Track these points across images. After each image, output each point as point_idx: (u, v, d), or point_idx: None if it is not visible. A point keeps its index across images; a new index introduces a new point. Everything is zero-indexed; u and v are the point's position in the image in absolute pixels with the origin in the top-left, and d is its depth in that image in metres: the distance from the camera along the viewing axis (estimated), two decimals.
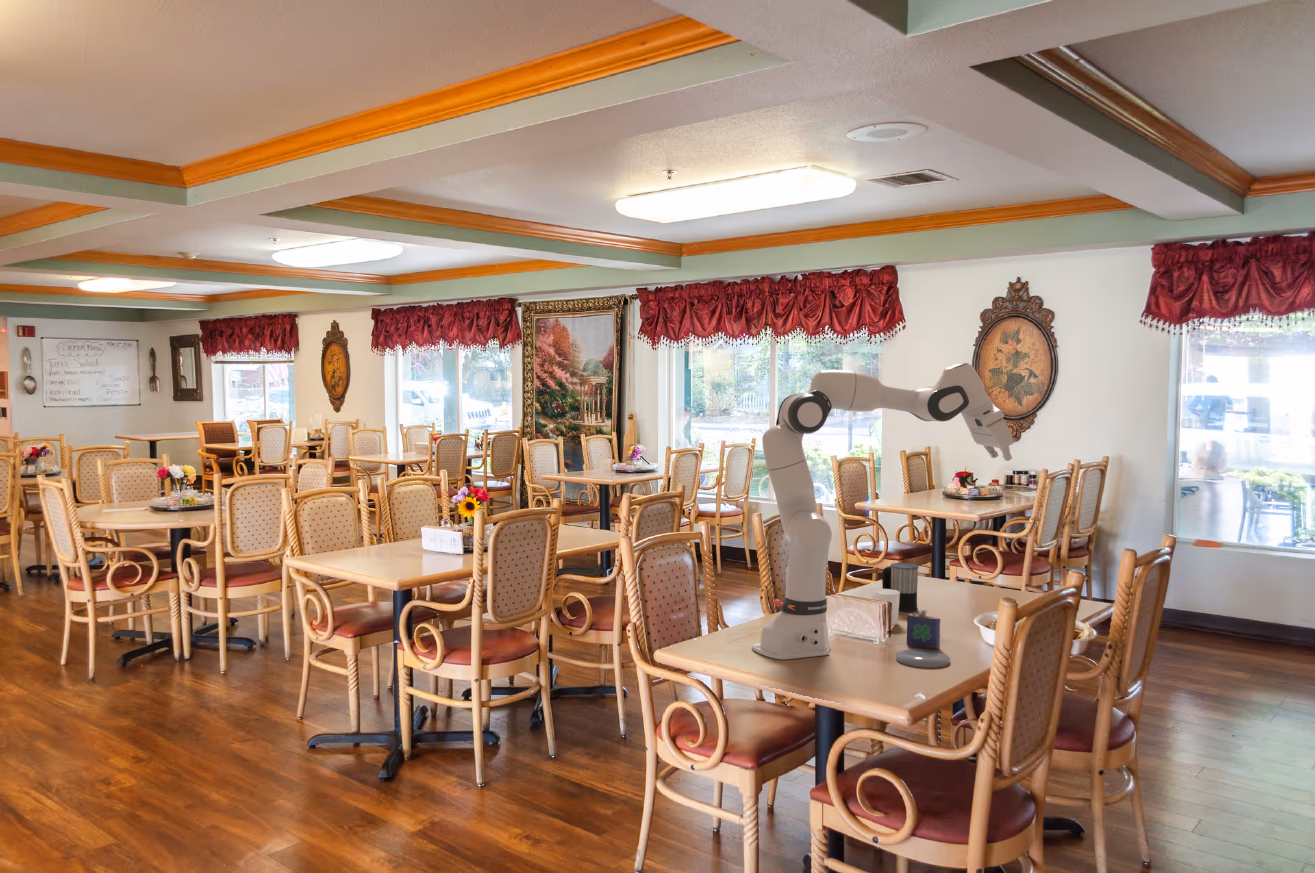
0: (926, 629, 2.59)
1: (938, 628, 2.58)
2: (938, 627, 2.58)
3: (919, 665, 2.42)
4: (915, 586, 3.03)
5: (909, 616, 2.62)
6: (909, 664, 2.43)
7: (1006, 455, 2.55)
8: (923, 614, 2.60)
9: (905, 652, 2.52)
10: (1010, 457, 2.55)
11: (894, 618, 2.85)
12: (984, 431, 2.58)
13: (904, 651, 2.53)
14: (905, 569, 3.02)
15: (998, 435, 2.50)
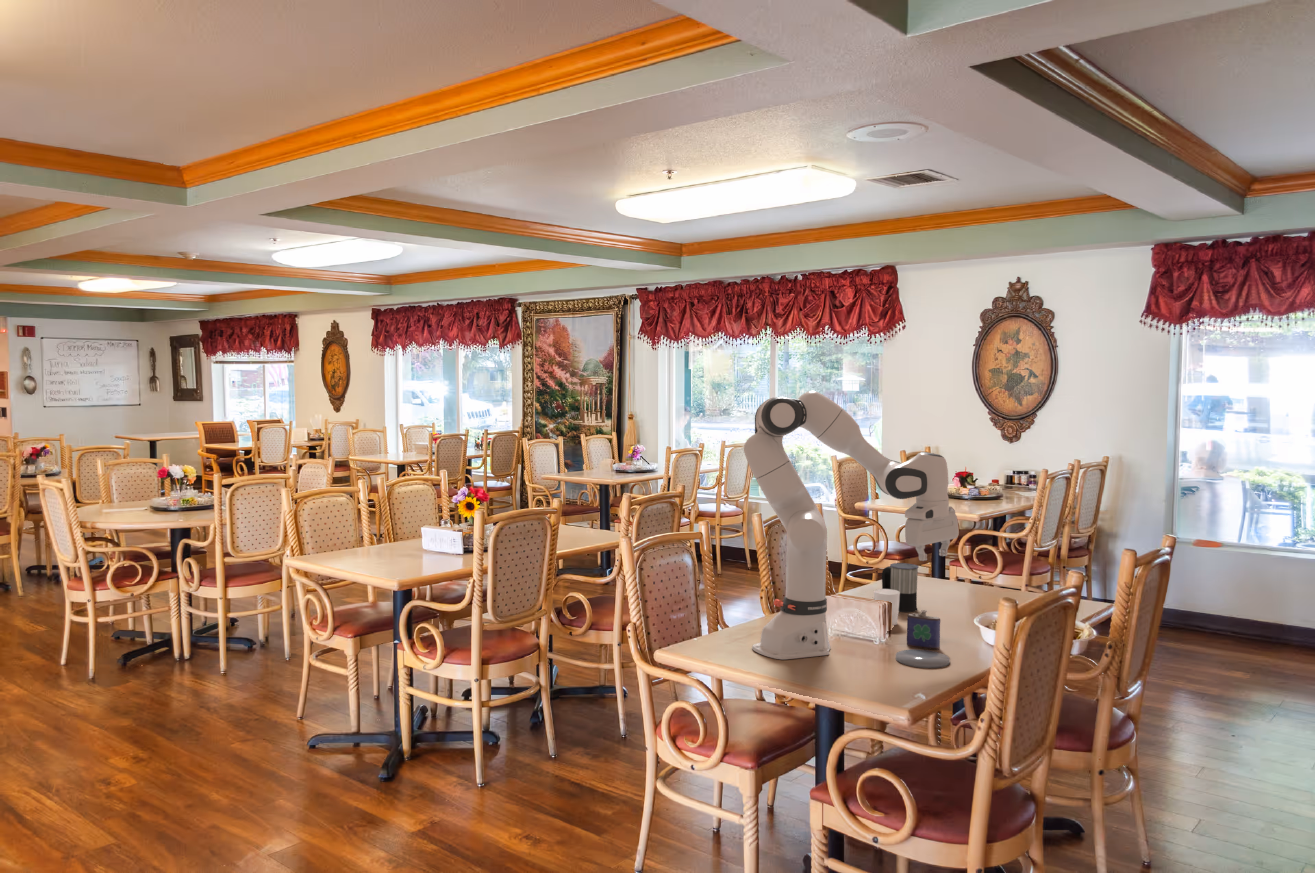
0: (926, 629, 2.59)
1: (938, 628, 2.58)
2: (938, 627, 2.58)
3: (919, 665, 2.42)
4: (915, 586, 3.03)
5: (909, 616, 2.62)
6: (909, 664, 2.43)
7: (920, 554, 2.57)
8: (923, 614, 2.60)
9: (905, 652, 2.52)
10: (922, 558, 2.57)
11: (894, 618, 2.85)
12: None
13: (904, 651, 2.53)
14: (905, 569, 3.02)
15: (907, 531, 2.55)
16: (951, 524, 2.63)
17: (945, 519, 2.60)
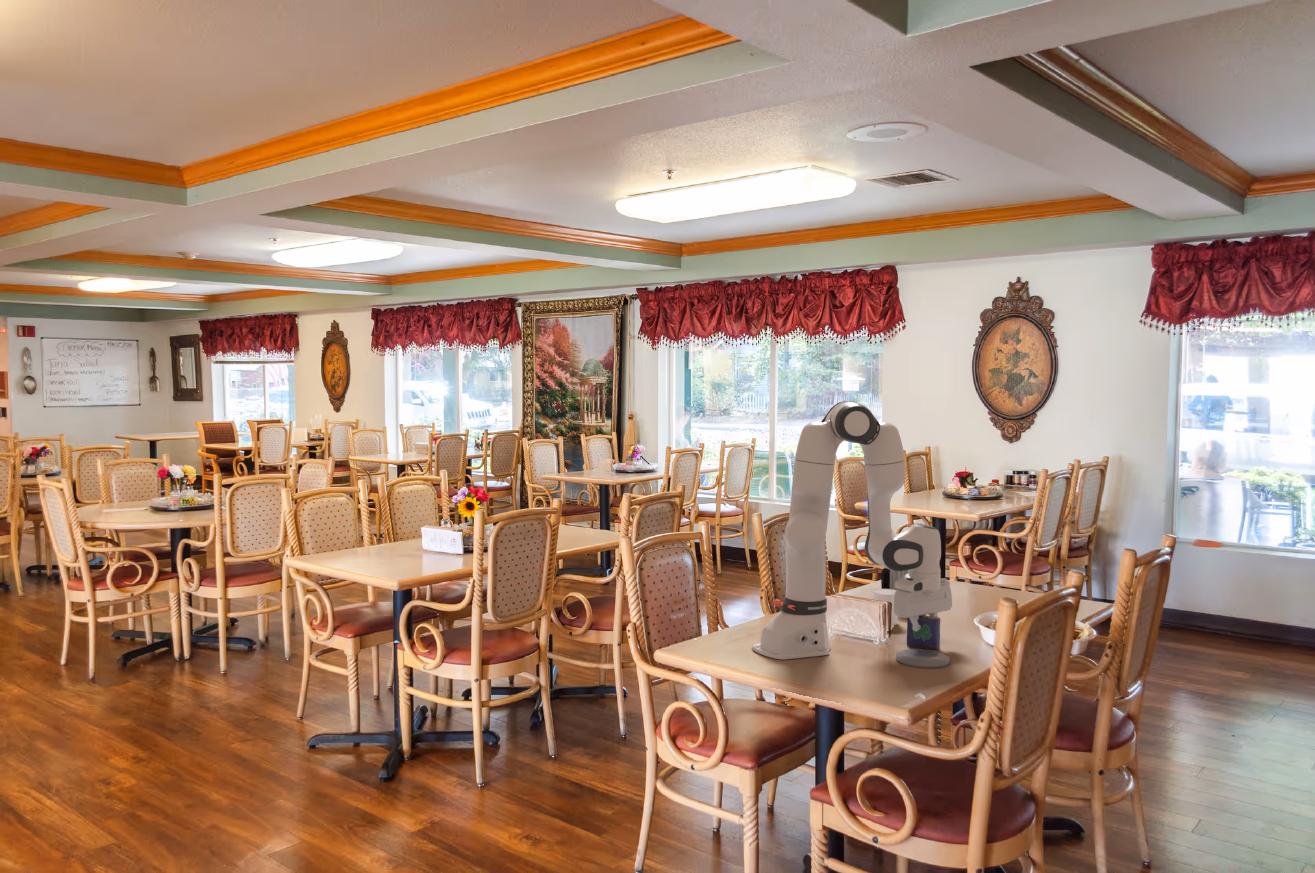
0: (926, 629, 2.59)
1: (938, 628, 2.58)
2: (938, 627, 2.58)
3: (919, 665, 2.42)
4: None
5: None
6: (909, 664, 2.43)
7: (913, 625, 2.59)
8: None
9: (905, 652, 2.52)
10: (916, 629, 2.58)
11: (894, 618, 2.85)
12: None
13: (904, 651, 2.53)
14: None
15: (895, 601, 2.56)
16: (944, 596, 2.62)
17: (937, 591, 2.60)
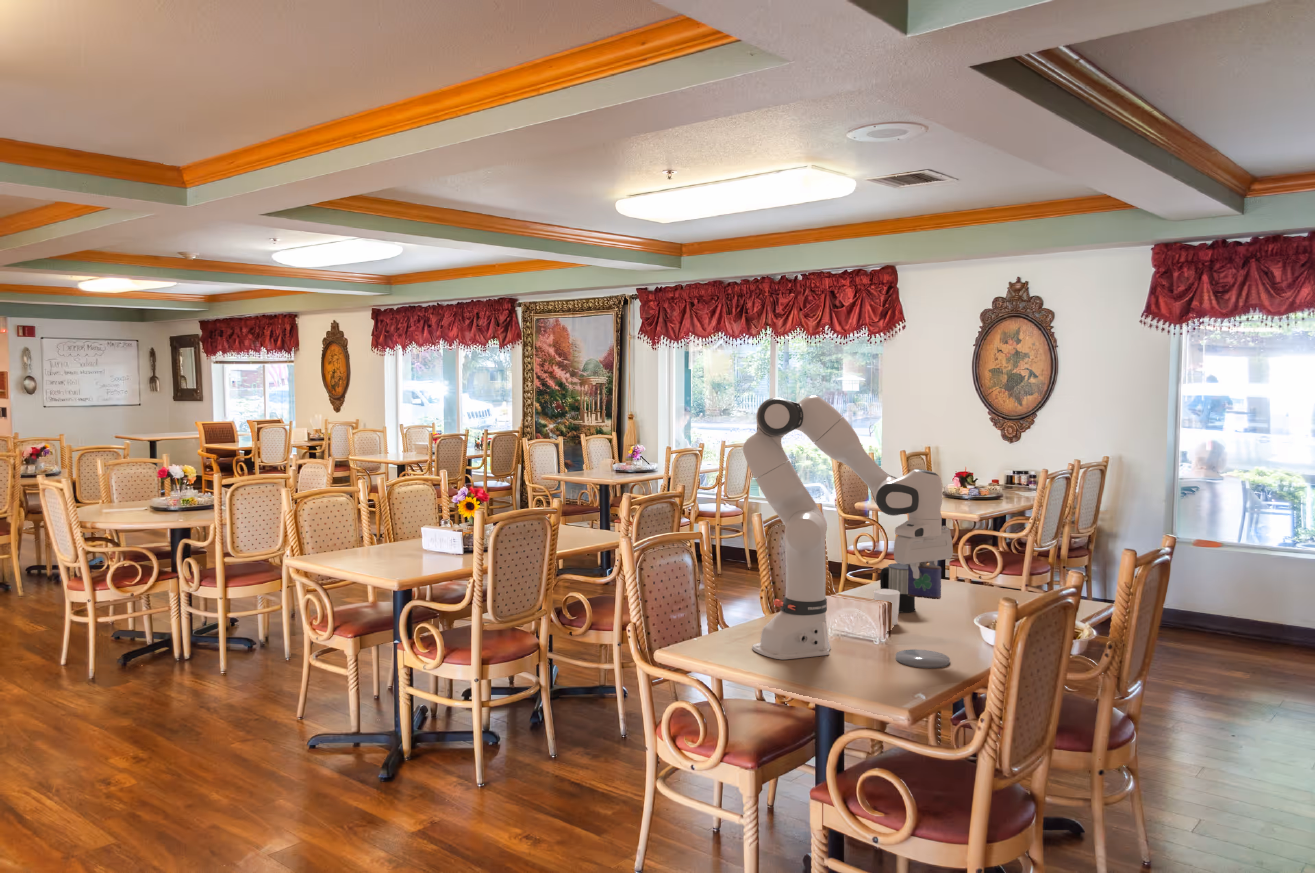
0: (926, 578, 2.54)
1: (939, 577, 2.53)
2: (939, 576, 2.53)
3: (919, 665, 2.42)
4: None
5: None
6: (909, 664, 2.43)
7: (914, 572, 2.54)
8: (924, 563, 2.55)
9: (905, 652, 2.52)
10: (916, 576, 2.54)
11: (894, 618, 2.85)
12: None
13: (904, 651, 2.53)
14: (902, 570, 3.01)
15: (895, 548, 2.51)
16: (945, 544, 2.57)
17: (938, 538, 2.55)
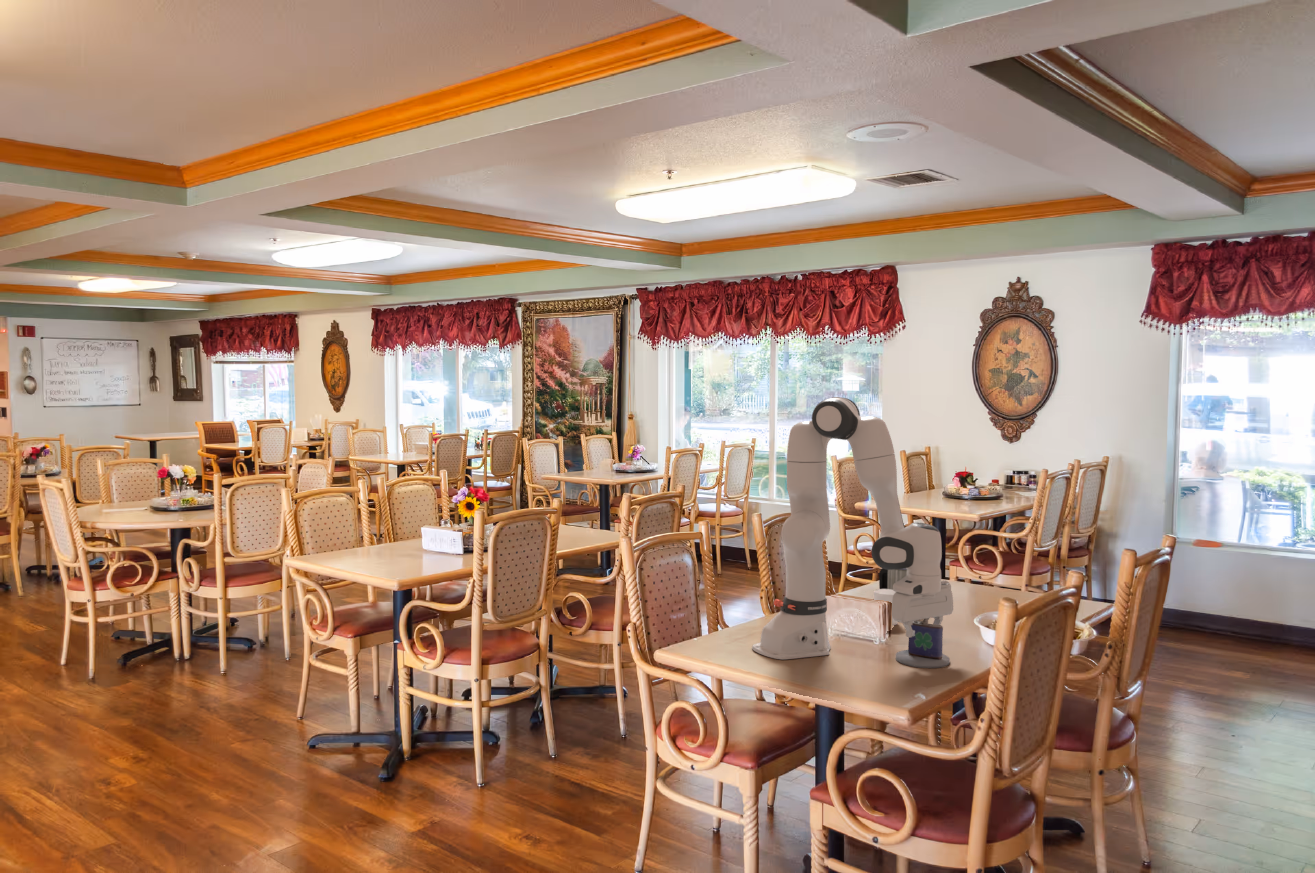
0: (927, 637, 2.46)
1: (940, 637, 2.45)
2: (940, 636, 2.45)
3: (919, 665, 2.42)
4: None
5: None
6: (909, 664, 2.43)
7: (907, 630, 2.45)
8: (925, 621, 2.47)
9: (905, 652, 2.52)
10: (909, 635, 2.44)
11: None
12: None
13: (904, 651, 2.53)
14: (901, 570, 3.00)
15: (893, 605, 2.43)
16: (945, 599, 2.49)
17: (937, 594, 2.47)
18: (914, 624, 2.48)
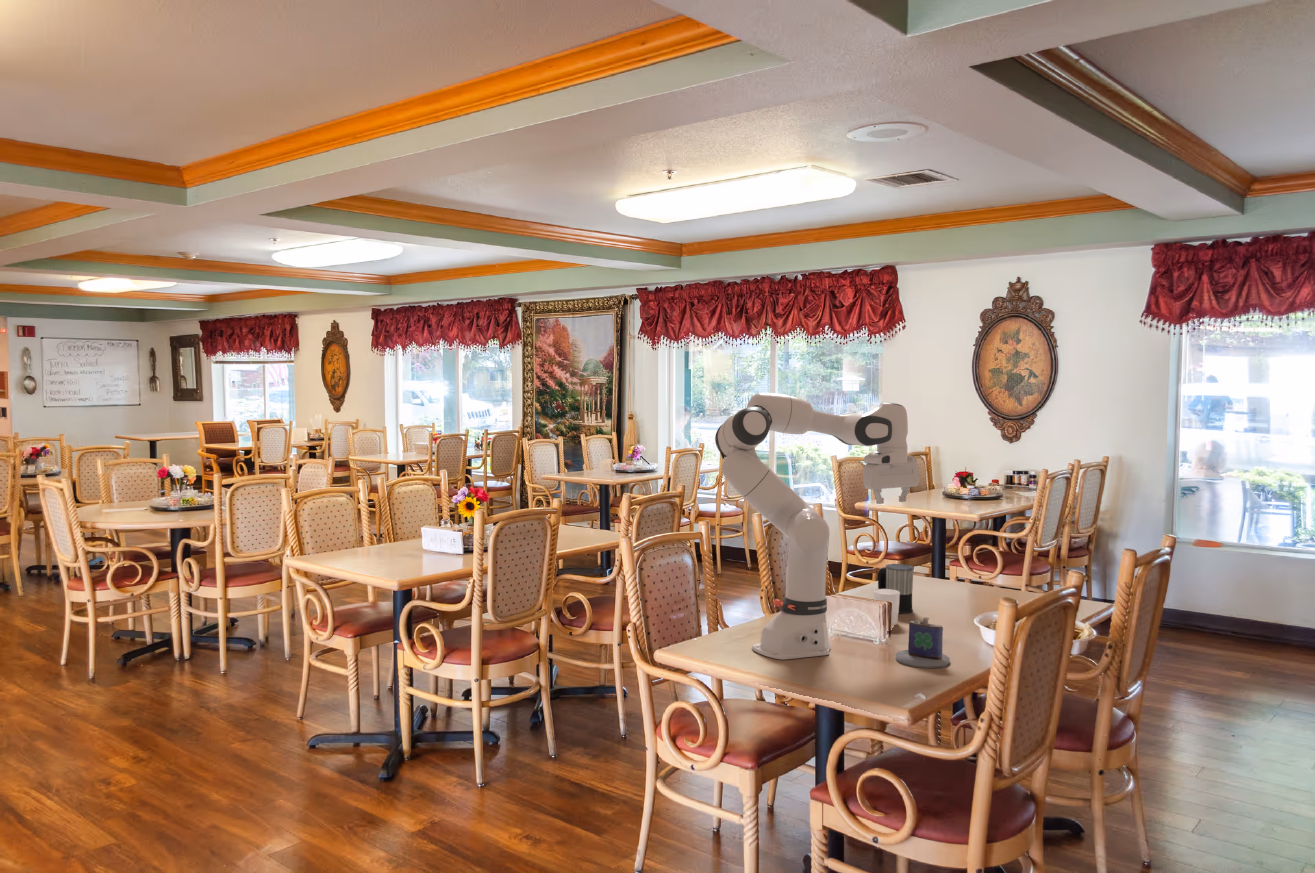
0: (927, 637, 2.46)
1: (940, 637, 2.45)
2: (940, 636, 2.45)
3: (919, 665, 2.42)
4: (910, 587, 3.01)
5: (910, 623, 2.49)
6: (909, 664, 2.43)
7: (877, 498, 2.73)
8: (925, 621, 2.47)
9: (905, 652, 2.52)
10: (879, 502, 2.72)
11: (894, 618, 2.85)
12: None
13: (904, 651, 2.53)
14: (900, 570, 3.00)
15: (864, 474, 2.71)
16: (911, 472, 2.77)
17: (904, 467, 2.75)
18: (914, 624, 2.48)
